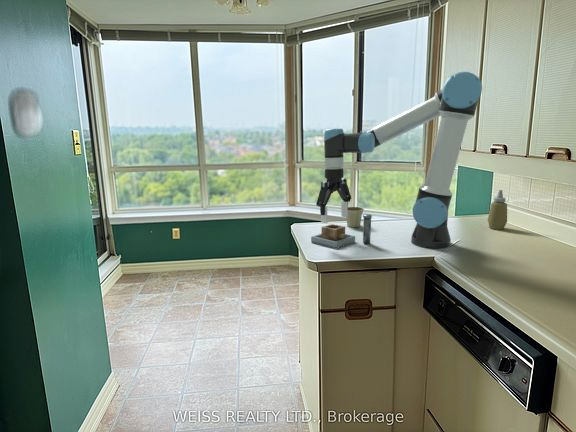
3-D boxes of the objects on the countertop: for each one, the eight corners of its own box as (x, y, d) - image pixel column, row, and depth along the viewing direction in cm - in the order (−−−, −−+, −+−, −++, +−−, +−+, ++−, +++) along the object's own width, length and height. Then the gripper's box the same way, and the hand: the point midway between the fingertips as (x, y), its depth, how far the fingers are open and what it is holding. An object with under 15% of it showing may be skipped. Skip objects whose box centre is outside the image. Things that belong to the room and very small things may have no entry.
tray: (355, 241, 162) (355, 235, 162) (336, 248, 153) (336, 242, 152) (330, 236, 171) (330, 230, 170) (311, 242, 162) (311, 236, 161)
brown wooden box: (348, 241, 161) (348, 227, 159) (338, 244, 156) (338, 230, 155) (331, 237, 167) (332, 223, 165) (321, 240, 162) (321, 227, 160)
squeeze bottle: (483, 228, 181) (487, 190, 177) (490, 225, 186) (494, 188, 182) (502, 231, 175) (506, 192, 171) (509, 228, 180) (513, 190, 176)
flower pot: (344, 228, 184) (345, 210, 182) (342, 223, 193) (343, 206, 191) (364, 228, 183) (365, 210, 181) (361, 223, 193) (362, 206, 191)
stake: (372, 243, 159) (373, 215, 157) (367, 245, 157) (368, 216, 154) (365, 241, 162) (366, 213, 159) (360, 243, 159) (361, 215, 157)
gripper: (344, 165, 166) (345, 213, 171) (306, 170, 149) (307, 224, 154) (359, 165, 161) (359, 215, 166) (321, 171, 144) (322, 226, 148)
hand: (334, 219), depth 160 cm, fingers open, 13 cm apart
